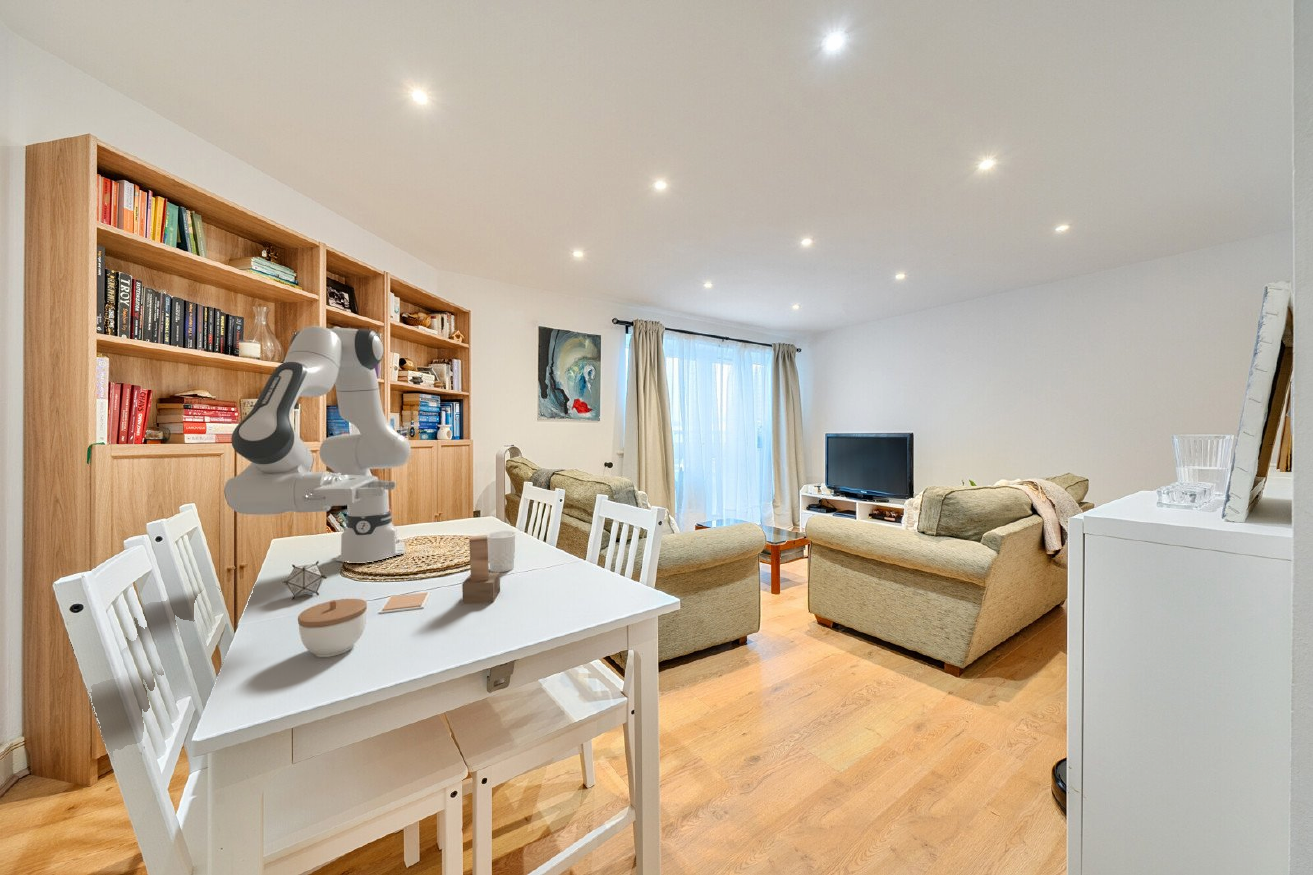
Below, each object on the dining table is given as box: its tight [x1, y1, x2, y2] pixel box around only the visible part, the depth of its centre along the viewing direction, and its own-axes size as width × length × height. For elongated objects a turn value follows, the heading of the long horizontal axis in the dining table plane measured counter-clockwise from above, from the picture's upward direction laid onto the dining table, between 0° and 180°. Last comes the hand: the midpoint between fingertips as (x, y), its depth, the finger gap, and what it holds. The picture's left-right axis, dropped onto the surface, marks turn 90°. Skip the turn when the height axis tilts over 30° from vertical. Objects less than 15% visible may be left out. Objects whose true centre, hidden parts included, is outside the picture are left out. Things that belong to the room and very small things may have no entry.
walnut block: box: [461, 572, 501, 605], centre depth 112 cm, size 7×7×5 cm
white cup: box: [486, 530, 516, 573], centre depth 133 cm, size 8×8×10 cm
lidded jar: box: [297, 598, 368, 658], centre depth 88 cm, size 11×11×9 cm
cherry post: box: [468, 534, 490, 582], centre depth 112 cm, size 4×4×10 cm
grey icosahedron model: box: [281, 560, 328, 601], centre depth 115 cm, size 9×8×10 cm
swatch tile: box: [378, 592, 432, 614], centre depth 109 cm, size 9×9×1 cm
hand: (389, 488), depth 106 cm, fingers open, 8 cm apart
